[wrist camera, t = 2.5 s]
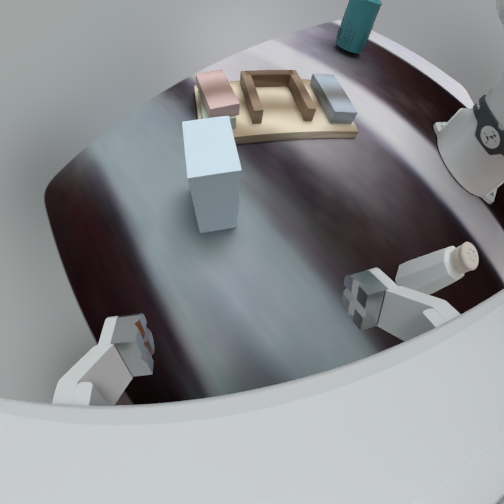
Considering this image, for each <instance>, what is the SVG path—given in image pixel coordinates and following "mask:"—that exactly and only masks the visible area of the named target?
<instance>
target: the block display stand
mask: <svg viewBox="0 0 504 504" xmlns="http://www.w3.org/2000/svg"><path fill="white" fill-rule="evenodd" d="M196 84H197V85H195V86H194V87H195V97H196V105H197V113H198V119H205V118H213V117H221V116H229V118H230V123H231V127H232V131H233V135H234V140H235V144H243V143H253V142H263V141H276V140H291V139H311V138H355V137H356V135H357V134H358V132H359V131H358V129H357V127H356V126H355V124H354V122H353V120H354V118H355V116H356V114H357V111H356V110H355V108H354V106H353V105H352V103H351V101H350V100H349V98H348V96H347V95H346V93H345V92H344V90H343V89H342V87H341V85H340V84H339V82H338V81H337V79H336V78H335V76H334V75H328V74H313V75H312V78H311V80H302V79H300V77H299V75H298V73H297V72H296V70H258V71H241V77H240V81H230V82H228V80H227V78H226V76H225V75H224V73H223V71H222V70H216V71H211V72H205V73H200V74H196Z"/></svg>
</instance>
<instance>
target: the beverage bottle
mask: <svg viewBox="0 0 504 504" xmlns="http://www.w3.org/2000/svg"><path fill="white" fill-rule="evenodd" d="M381 5H382V3H381V1H380V0H349V3H348V6H347V8H346V11H345V14H344V17H343V19H342V21H341V22H342V23H341V26H340V29H339V31H338V35H337V39H336V43H337V45H338V46H340V47H341V48H343V49H345V50H347V51H349V52H353V53H361V52H362V51H363V49H364V46H365V44H366V41H367V40H368V39H369V38H368V37H369V34H370V32H371V30H372V27H373V24H374V21H375V19H376V16H377V14H378V11H379V9H380V6H381Z"/></svg>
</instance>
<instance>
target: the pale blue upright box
mask: <svg viewBox="0 0 504 504" xmlns="http://www.w3.org/2000/svg"><path fill="white" fill-rule="evenodd" d="M182 124H183V136H184V147H185V157H186V167H187V176H188V182H189V187H190V191H191V196H192V200H193V205H194V209H195V213H196V218H197V222H198V226H199V231H200V233H206V232H212V231H218V230H224V229H230V228H236V226H237V215H238V204H239V193H240V182H241V172H242V170H241V165H240V161H239V157H238V153H237V148H236V144H235V140H234V135H233V131H232V127H231V123H230V118H229V116H221V117H213V118H205V119H198V120H191V121H185V122H182Z"/></svg>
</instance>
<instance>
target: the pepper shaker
mask: <svg viewBox="0 0 504 504" xmlns="http://www.w3.org/2000/svg"><path fill="white" fill-rule="evenodd" d="M478 261H479V258H478V253H477V250H476V248H475V247H474V245H473V244H471V243H470V242H465V243H463V244H462V245H460V246H459V247H457V248H455V247H454V246H450V247H447V248H444V249H441V250H438V251H436V252H433V253H430V254H427V255H424V256H421V257H418V258H415V259H412V260H410V261H407V262H405V263H403V264H400V265H399V268H398V271H397V275H396V278H395V281H396V284H397V286H404V287H407V288H410V289H413V290H416V291H419V292H422V293H425V294H428V295H430V294H432V293H434V292H436V291H438V290H440V289H442V288H444V287H446V286H448V285H450V284H452V283H453V282H455V281H457V280H459V279H460V278H462V277H463V276H464V273H465V272H468V271H470V270H474V269H476V268H477V266H478Z"/></svg>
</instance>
